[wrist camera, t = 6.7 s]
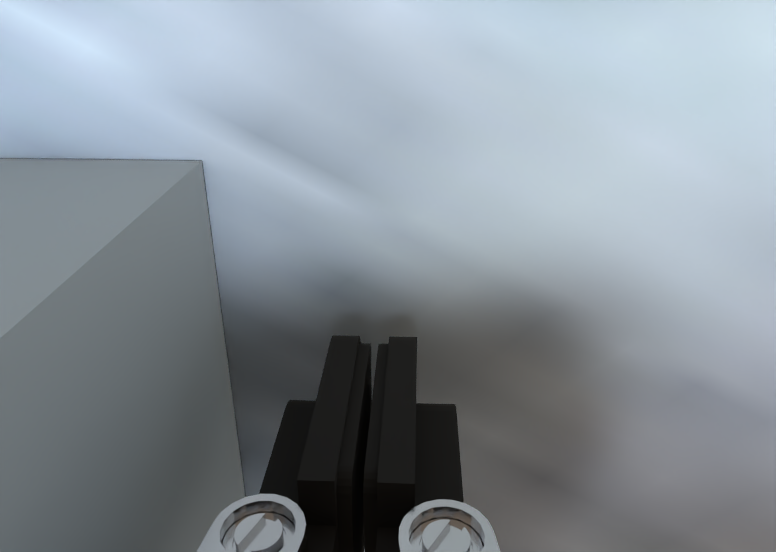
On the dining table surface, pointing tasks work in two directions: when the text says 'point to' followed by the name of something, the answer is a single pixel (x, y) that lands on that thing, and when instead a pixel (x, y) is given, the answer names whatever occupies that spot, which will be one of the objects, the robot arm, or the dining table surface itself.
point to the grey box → (111, 359)
